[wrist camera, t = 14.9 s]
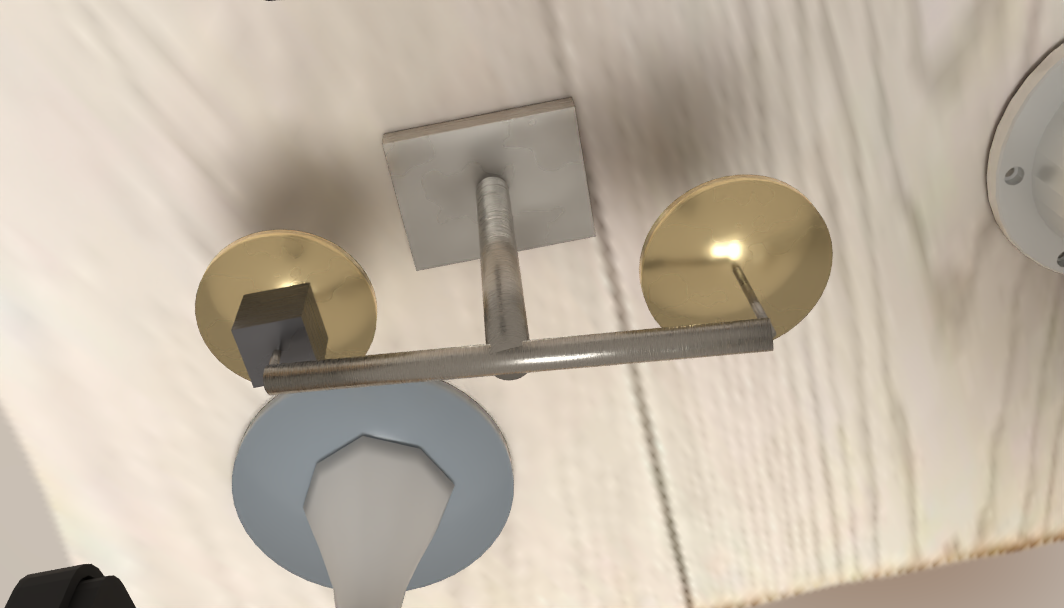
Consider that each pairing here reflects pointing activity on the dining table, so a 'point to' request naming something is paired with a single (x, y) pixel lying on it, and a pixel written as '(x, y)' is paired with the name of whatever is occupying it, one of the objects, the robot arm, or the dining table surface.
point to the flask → (374, 518)
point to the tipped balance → (514, 265)
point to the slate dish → (386, 414)
